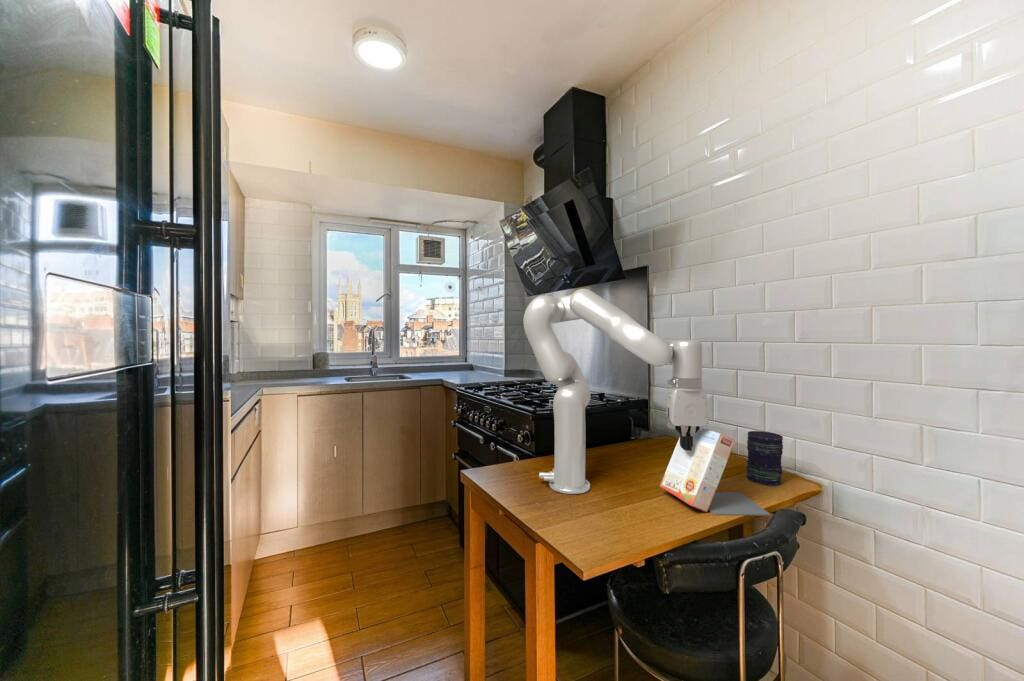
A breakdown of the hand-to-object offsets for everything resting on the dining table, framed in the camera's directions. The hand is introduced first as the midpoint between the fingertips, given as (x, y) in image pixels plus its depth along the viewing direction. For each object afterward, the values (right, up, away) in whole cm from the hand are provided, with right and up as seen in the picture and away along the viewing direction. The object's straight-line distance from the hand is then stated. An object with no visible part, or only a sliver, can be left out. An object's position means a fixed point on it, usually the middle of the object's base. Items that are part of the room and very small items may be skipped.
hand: (686, 449), depth 112 cm
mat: (+12, -16, 0) cm, 20 cm away
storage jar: (+33, -15, +18) cm, 41 cm away
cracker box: (-1, -15, +1) cm, 15 cm away
